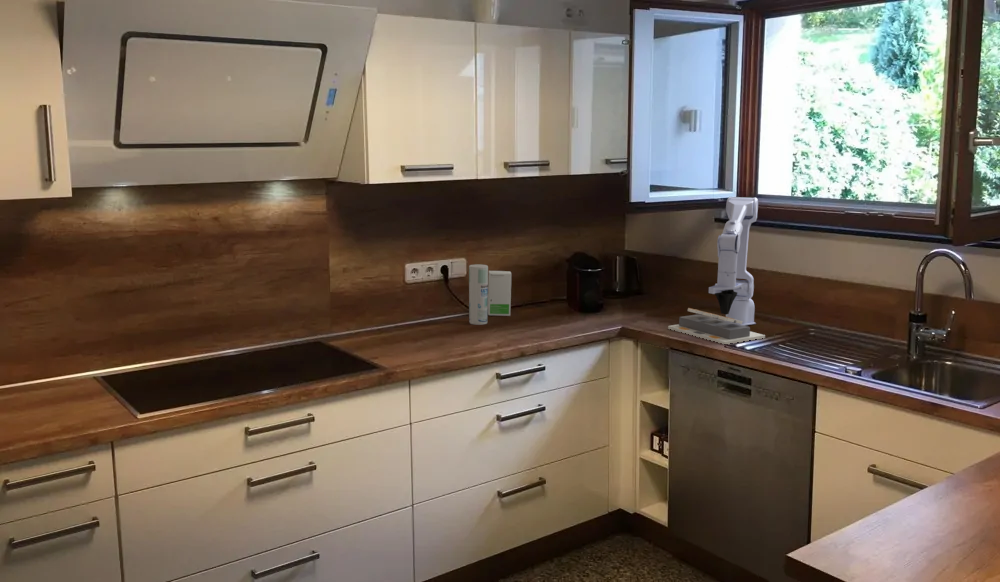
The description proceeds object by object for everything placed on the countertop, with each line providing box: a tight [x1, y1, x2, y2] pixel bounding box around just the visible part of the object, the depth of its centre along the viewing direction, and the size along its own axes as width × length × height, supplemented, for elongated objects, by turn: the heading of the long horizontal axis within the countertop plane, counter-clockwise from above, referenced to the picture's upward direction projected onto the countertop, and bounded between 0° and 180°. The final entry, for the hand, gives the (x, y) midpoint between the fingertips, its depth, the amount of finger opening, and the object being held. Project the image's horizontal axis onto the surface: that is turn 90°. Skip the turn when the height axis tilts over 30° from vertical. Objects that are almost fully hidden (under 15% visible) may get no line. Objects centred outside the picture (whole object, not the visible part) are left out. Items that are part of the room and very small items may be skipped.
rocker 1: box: [687, 307, 704, 315], centre depth 290 cm, size 7×4×1 cm, turn 122°
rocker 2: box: [702, 311, 719, 319], centre depth 284 cm, size 7×4×1 cm, turn 122°
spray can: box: [468, 263, 489, 326], centre depth 298 cm, size 6×6×20 cm
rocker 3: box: [718, 314, 743, 324], centre depth 279 cm, size 7×4×1 cm, turn 122°
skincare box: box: [487, 270, 512, 317], centre depth 313 cm, size 8×7×16 cm
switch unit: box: [667, 313, 766, 345], centre depth 286 cm, size 18×26×4 cm
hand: (724, 313), depth 277 cm, fingers closed
